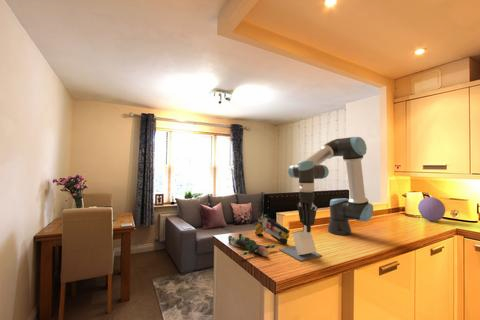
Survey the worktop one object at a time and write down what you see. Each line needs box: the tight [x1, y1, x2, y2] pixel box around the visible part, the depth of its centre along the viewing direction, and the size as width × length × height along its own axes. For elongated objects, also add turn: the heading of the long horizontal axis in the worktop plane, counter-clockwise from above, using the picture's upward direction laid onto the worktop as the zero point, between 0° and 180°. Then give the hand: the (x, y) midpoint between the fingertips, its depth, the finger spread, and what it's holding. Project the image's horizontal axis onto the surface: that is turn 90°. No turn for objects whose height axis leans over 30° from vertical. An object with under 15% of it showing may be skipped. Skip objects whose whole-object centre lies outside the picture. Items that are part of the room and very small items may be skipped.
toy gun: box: [254, 214, 291, 246], centre depth 142 cm, size 4×26×15 cm, turn 37°
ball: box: [417, 196, 446, 222], centre depth 188 cm, size 17×17×20 cm
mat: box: [278, 245, 323, 262], centre depth 119 cm, size 14×17×1 cm
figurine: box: [227, 233, 278, 257], centre depth 125 cm, size 26×6×30 cm
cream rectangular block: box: [292, 229, 317, 255], centre depth 117 cm, size 8×5×11 cm, turn 117°
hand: (307, 238), depth 115 cm, fingers closed
